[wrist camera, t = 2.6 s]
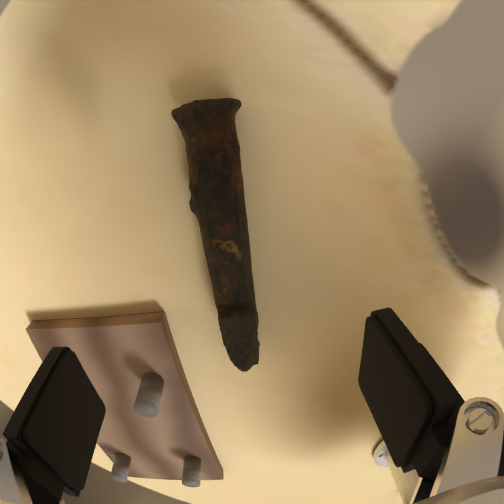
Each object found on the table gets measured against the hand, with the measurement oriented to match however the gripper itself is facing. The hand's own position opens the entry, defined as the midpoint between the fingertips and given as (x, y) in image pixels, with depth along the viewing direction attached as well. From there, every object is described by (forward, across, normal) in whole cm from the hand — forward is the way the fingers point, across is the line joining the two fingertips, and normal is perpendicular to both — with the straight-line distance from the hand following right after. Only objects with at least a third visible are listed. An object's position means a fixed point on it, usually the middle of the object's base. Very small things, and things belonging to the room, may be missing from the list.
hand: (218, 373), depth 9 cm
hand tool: (+14, -1, +1) cm, 14 cm away
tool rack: (+13, +12, +19) cm, 26 cm away
